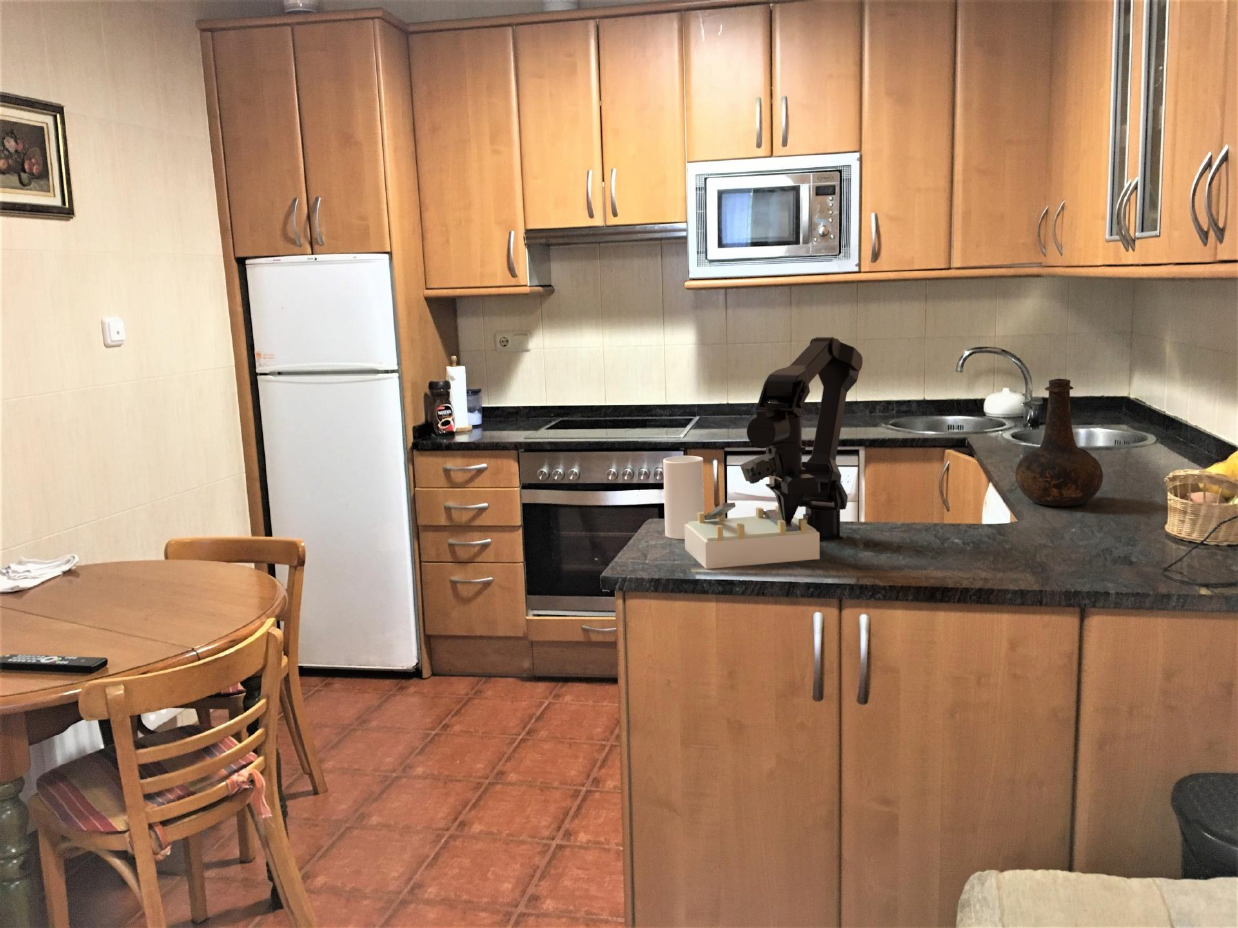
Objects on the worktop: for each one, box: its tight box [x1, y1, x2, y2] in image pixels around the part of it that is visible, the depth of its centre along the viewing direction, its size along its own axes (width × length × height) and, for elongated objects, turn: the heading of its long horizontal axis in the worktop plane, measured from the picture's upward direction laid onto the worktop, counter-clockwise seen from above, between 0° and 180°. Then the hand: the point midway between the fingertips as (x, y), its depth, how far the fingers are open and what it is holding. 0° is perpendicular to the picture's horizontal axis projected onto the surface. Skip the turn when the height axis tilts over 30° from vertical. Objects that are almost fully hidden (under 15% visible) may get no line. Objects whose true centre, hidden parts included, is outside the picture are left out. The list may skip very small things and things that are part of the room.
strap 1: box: [704, 502, 736, 520], centre depth 193 cm, size 14×2×1 cm, turn 11°
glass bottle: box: [1014, 378, 1104, 508], centre depth 227 cm, size 18×18×28 cm
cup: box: [662, 455, 705, 540], centre depth 211 cm, size 8×8×16 cm
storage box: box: [684, 505, 820, 570], centre depth 194 cm, size 22×15×8 cm
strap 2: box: [763, 508, 799, 531], centre depth 195 cm, size 14×2×1 cm, turn 11°
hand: (786, 522), depth 192 cm, fingers closed, pressing on strap 2
